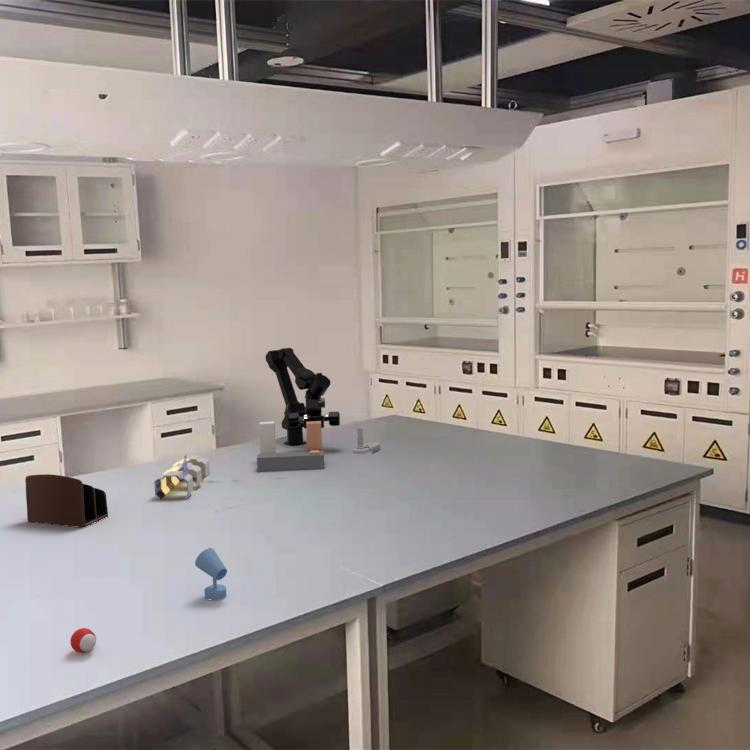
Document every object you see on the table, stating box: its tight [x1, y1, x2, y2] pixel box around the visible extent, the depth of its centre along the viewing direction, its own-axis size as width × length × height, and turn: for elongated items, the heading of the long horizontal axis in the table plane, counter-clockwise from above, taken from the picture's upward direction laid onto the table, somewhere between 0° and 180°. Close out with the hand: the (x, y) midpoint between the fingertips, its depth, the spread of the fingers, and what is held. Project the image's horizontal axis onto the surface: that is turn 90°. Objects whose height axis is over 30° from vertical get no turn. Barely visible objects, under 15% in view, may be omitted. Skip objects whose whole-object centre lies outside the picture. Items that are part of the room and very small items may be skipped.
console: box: [256, 450, 325, 473], centre depth 271 cm, size 16×22×7 cm
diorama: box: [153, 454, 211, 501], centre depth 250 cm, size 25×10×13 cm, turn 177°
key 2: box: [305, 421, 323, 452], centre depth 271 cm, size 4×5×14 cm
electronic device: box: [352, 428, 381, 455], centre depth 290 cm, size 5×10×15 cm
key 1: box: [258, 420, 277, 454], centre depth 273 cm, size 4×5×14 cm
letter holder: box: [24, 473, 109, 528], centre depth 222 cm, size 10×20×14 cm, turn 69°
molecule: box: [69, 627, 97, 654], centre depth 145 cm, size 5×5×4 cm
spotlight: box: [194, 547, 228, 601], centre depth 167 cm, size 5×10×7 cm
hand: (314, 439), depth 282 cm, fingers closed
